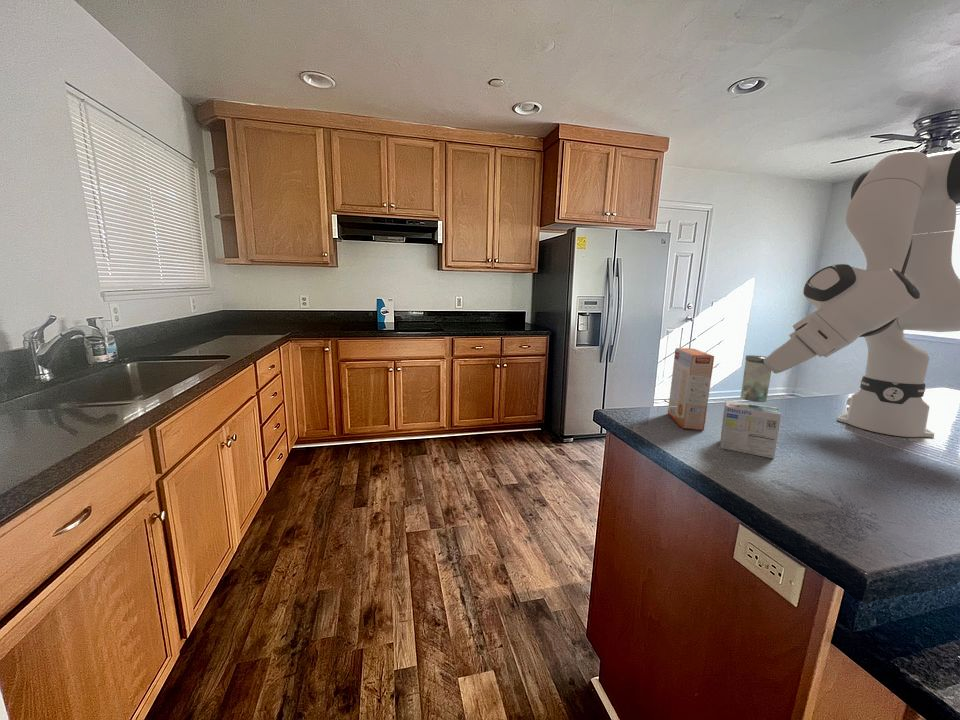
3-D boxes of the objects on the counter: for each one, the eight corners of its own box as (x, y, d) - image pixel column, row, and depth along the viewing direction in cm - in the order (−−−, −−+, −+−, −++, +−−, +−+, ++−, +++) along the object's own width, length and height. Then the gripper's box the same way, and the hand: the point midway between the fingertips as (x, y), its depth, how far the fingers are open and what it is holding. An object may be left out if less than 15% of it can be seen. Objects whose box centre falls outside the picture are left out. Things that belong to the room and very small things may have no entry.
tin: (741, 394, 91) (747, 354, 89) (768, 399, 87) (775, 357, 86) (738, 399, 87) (744, 357, 85) (765, 403, 84) (772, 360, 82)
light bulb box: (771, 449, 89) (778, 406, 88) (775, 459, 84) (782, 414, 82) (719, 439, 95) (724, 399, 93) (719, 448, 89) (725, 405, 88)
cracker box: (705, 431, 101) (715, 355, 97) (681, 429, 102) (690, 354, 98) (688, 415, 114) (696, 348, 111) (666, 413, 115) (674, 347, 112)
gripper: (807, 322, 87) (750, 358, 95) (802, 327, 72) (735, 369, 80) (829, 343, 85) (769, 378, 93) (829, 353, 70) (758, 393, 78)
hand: (753, 374), depth 87 cm, fingers closed on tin, 5 cm apart
